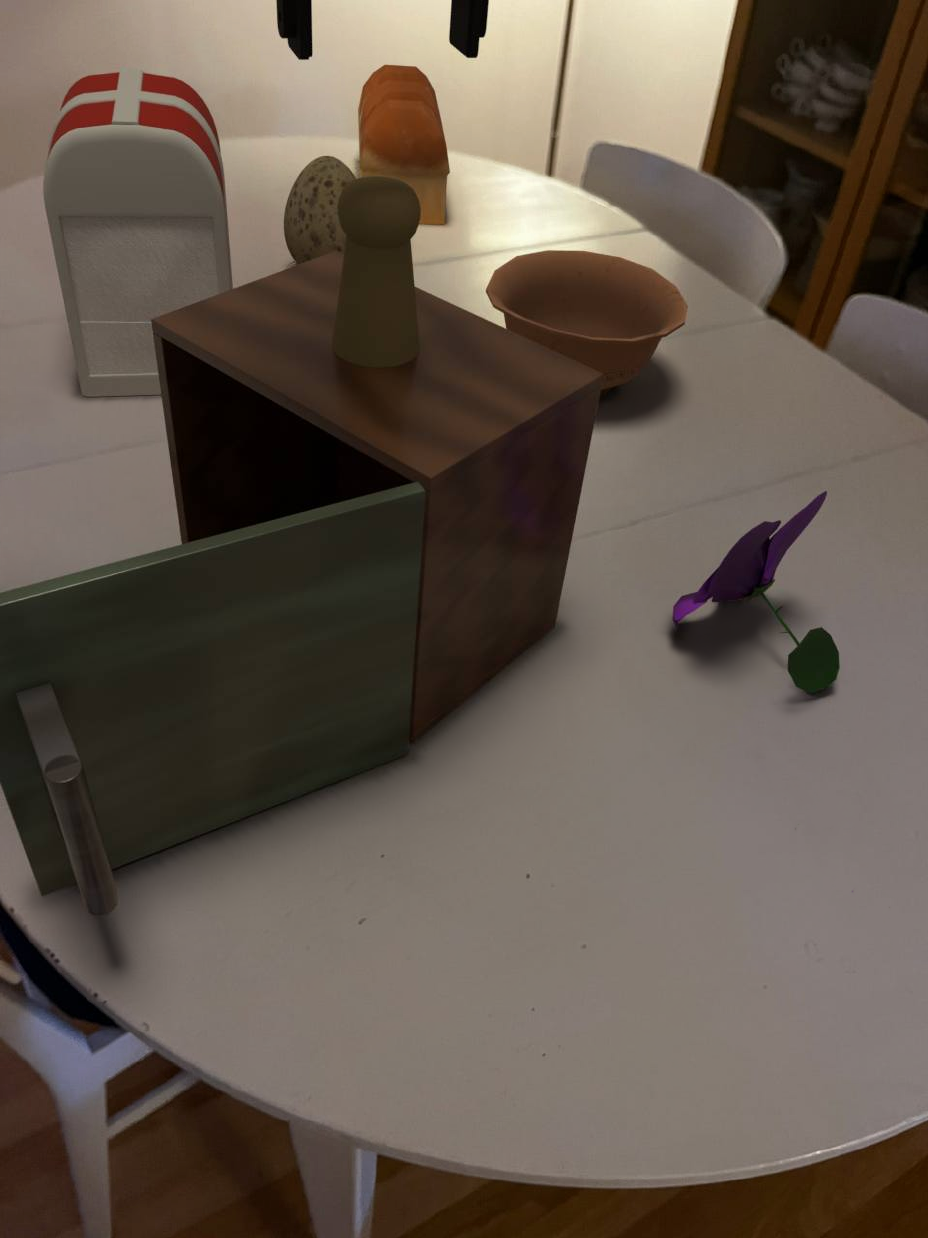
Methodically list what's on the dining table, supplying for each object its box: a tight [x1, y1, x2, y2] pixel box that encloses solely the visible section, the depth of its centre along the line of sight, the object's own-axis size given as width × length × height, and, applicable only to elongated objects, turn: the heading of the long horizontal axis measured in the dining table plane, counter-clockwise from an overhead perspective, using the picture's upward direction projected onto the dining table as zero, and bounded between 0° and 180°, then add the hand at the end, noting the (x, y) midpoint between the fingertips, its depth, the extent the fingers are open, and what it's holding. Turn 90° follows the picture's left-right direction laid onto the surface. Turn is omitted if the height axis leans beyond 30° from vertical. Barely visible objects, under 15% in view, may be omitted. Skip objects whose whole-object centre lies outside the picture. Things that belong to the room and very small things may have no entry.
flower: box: [671, 490, 841, 694], centre depth 82 cm, size 15×15×14 cm
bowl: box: [485, 249, 689, 398], centre depth 114 cm, size 22×22×11 cm
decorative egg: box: [283, 155, 358, 265], centre depth 127 cm, size 11×11×15 cm
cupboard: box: [151, 251, 604, 745], centre depth 78 cm, size 18×26×24 cm
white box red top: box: [42, 68, 234, 398], centre depth 105 cm, size 16×18×27 cm
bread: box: [357, 64, 451, 226], centre depth 150 cm, size 25×12×15 cm, turn 5°
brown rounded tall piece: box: [332, 176, 421, 368], centre depth 67 cm, size 6×6×11 cm
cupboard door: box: [0, 482, 425, 917], centre depth 60 cm, size 8×26×24 cm, turn 120°
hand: (383, 51), depth 58 cm, fingers open, 9 cm apart
